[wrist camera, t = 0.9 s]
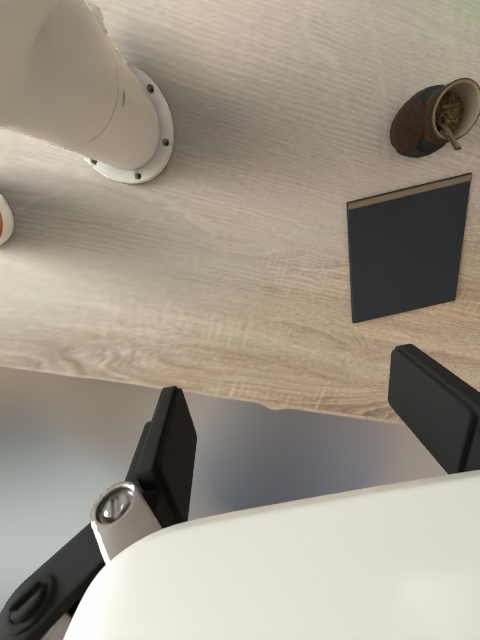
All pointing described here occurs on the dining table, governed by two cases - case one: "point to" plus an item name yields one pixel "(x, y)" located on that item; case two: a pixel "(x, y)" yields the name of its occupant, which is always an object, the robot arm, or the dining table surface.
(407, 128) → the mate gourd
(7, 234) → the strawberry milk bottle
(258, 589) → the robot arm
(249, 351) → the dining table surface
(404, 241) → the mat
